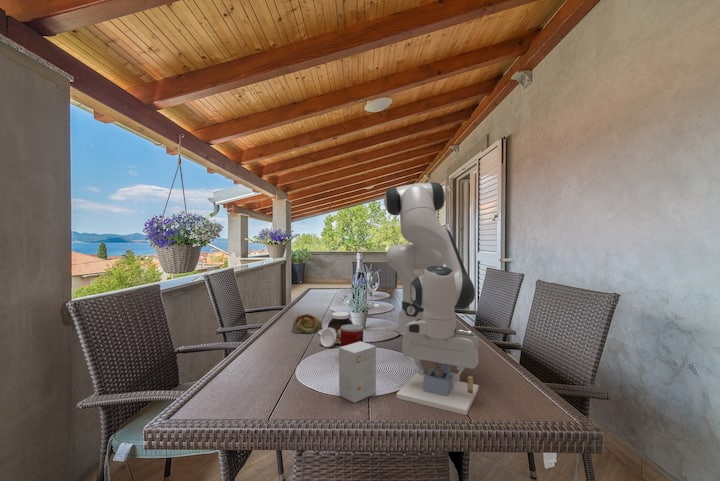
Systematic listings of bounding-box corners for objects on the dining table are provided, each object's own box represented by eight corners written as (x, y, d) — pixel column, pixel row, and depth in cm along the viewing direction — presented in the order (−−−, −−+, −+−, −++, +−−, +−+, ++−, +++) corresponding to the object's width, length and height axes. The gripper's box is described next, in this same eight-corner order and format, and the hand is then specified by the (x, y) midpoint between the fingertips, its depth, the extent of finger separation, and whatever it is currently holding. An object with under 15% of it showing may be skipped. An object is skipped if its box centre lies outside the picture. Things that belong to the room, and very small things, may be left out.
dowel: (468, 390, 94) (468, 375, 94) (473, 391, 93) (473, 376, 93) (466, 392, 93) (467, 377, 93) (472, 393, 92) (472, 378, 92)
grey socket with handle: (436, 374, 104) (436, 358, 104) (458, 379, 101) (458, 362, 101) (423, 391, 93) (423, 372, 93) (447, 396, 90) (447, 377, 90)
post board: (416, 376, 106) (416, 354, 106) (478, 389, 97) (478, 365, 97) (396, 398, 92) (396, 372, 92) (466, 415, 83) (466, 387, 83)
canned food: (360, 363, 117) (360, 330, 116) (337, 361, 118) (337, 329, 118) (365, 355, 124) (365, 324, 124) (343, 354, 126) (343, 323, 126)
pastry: (295, 336, 148) (295, 317, 148) (289, 328, 160) (289, 311, 160) (327, 332, 154) (327, 314, 154) (318, 325, 165) (318, 308, 165)
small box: (360, 386, 99) (360, 340, 99) (376, 393, 94) (376, 345, 94) (338, 395, 93) (338, 346, 93) (354, 403, 89) (354, 352, 89)
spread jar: (354, 340, 142) (354, 312, 141) (349, 349, 130) (349, 318, 130) (326, 339, 144) (326, 311, 144) (318, 347, 133) (318, 317, 132)
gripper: (481, 329, 92) (480, 381, 92) (407, 320, 102) (407, 367, 102) (476, 335, 86) (476, 390, 87) (399, 324, 96) (399, 374, 96)
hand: (438, 377), depth 94 cm, fingers open, 8 cm apart
